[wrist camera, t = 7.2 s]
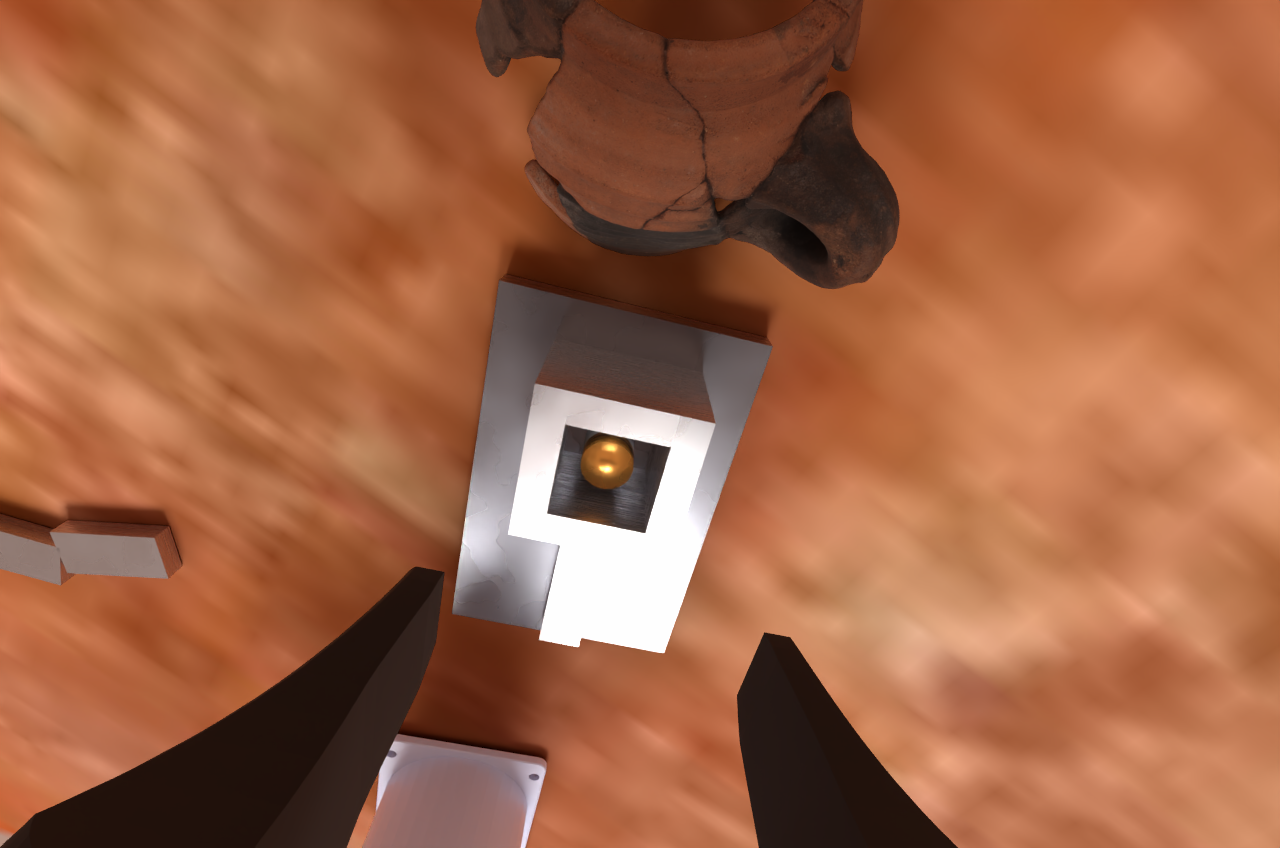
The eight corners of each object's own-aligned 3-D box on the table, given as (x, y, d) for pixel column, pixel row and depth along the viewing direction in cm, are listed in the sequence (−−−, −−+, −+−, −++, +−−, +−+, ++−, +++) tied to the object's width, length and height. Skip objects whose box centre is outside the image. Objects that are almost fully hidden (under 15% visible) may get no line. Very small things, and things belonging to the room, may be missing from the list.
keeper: (663, 635, 26) (666, 714, 23) (458, 597, 25) (427, 672, 22) (767, 337, 20) (793, 379, 17) (506, 273, 19) (474, 303, 16)
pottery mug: (447, 160, 19) (335, -90, 10) (637, -45, 20) (670, -416, 12) (746, 402, 19) (867, 345, 10) (917, 185, 20) (1147, -21, 12)
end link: (665, 496, 22) (669, 566, 18) (531, 468, 21) (508, 534, 18) (702, 372, 20) (715, 423, 16) (555, 338, 19) (534, 383, 16)
